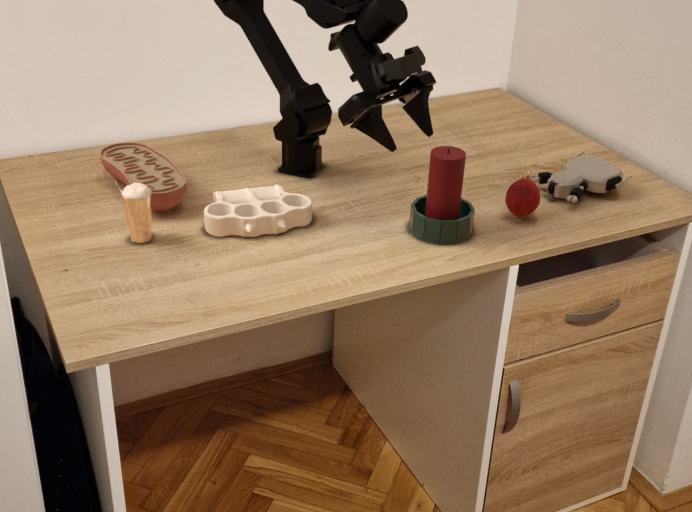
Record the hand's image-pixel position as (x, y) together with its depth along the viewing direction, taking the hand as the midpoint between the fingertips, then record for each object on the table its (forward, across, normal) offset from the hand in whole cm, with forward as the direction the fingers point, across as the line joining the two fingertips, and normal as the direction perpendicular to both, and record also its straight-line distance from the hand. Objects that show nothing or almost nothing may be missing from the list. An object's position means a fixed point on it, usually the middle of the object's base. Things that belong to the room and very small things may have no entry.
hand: (413, 143), depth 151 cm
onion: (+19, +13, 0) cm, 23 cm away
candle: (+14, 0, +4) cm, 14 cm away
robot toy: (+20, +30, -1) cm, 36 cm away
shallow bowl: (+14, 0, +4) cm, 15 cm away
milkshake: (-8, -38, +27) cm, 47 cm away
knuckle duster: (-2, -20, +21) cm, 29 cm away
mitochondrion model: (-17, -27, +36) cm, 48 cm away
